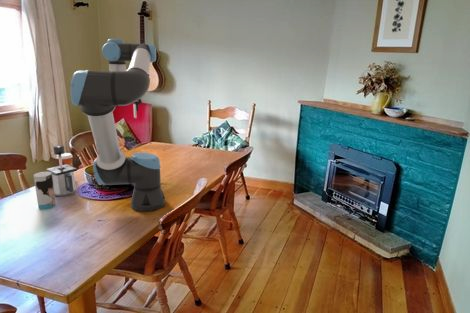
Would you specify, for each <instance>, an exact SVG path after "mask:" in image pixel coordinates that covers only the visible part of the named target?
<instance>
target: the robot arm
mask: <svg viewBox="0 0 470 313" xmlns="http://www.w3.org/2000/svg"><path fill="white" fill-rule="evenodd" d="M101 53H102V56H103V57H104V59H105V60H107V61H108V70H89V69H86V70H77V71H75V72H74V73H73V74H72V76H71V80H70V81H71V82H70V101H71V104H72V105H73V106H76V107H80V110H81V112H82V114H84V115H85V116H87V120H88V122H89V126H90V129H91V133H92V137H93V140H94V143H95V148H96V151H97V154H98V155H97V156H96V158H95V159H94V161H93V163H92V166H93V167H92V169H93V176H94V179H95V181H96V182H97V184H99V185H104V186H105V185H107V186H111V185H133V191H132V195H131V196H132V197H131V199H130V208H132V209H133V210H134V211H138V212H152V211H153V212H154V211H157V210H160V209H162V208H163V207H164V206H166V197H165V194H164V192H163V189H162V182H161V180H162V179H161V163H160V161H161V160H160V158H159V156H158V155H155V154H154V153H150V152H134V153H132V154H131V156H127V157H126V154H125V153H124V152H123V151H122V150H121V148H120V143H119V142H120V141H119V137H118V132H117V126H116V122H115V117H114V113H113V112H114V110H116V106H117V107H118V106H119V107H122V106H123V107H124V106H129V105H132V104H133V106H132V107H133V118H134V119H137V118H138V116H137V112H138V111H139V104H142V102H143V101H142V100H141V99H142V98H143V97H144V96H145V94H146V93H147V92H148V90H149V88H150V85H151V83H150V82H151V78H150V76H149V71H150V67H151V66H150V65H151V63H154V62H156V61H157V49H156V45H155V44H153V43H127V42H126V43H125V41H124V40H123V39H120V38H109V39H107V42H106V43H105V44H104V45H102V47H101ZM126 62H129V66H128V68H127V64H126Z"/></svg>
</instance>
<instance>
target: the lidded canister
mask: <svg viewBox="0 0 470 313" xmlns="http://www.w3.org/2000/svg"><path fill="white" fill-rule="evenodd" d="M76 171H78V169H77V168H76V167H74V166H73V167H72V166H70V165H67V164H66V165H63V169H62V170H60V166H58V165H57V166H53V167H49V168H46V169H45V172H51V173H52V178H53V185H54V193H55V198H62V197H63V198H65V197H70V196H73V195H74V194H76V193H77V188H76V182H75V172H76Z"/></svg>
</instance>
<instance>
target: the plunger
mask: <svg viewBox="0 0 470 313" xmlns="http://www.w3.org/2000/svg"><path fill="white" fill-rule="evenodd" d="M52 149H53V155H56V156H57V155H58V157H59V165H60V170H62V169H63V165H62V158H61V154H64V153H66V151H65V146H64V145H54V146H53V148H52Z"/></svg>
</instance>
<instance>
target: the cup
mask: <svg viewBox="0 0 470 313" xmlns="http://www.w3.org/2000/svg"><path fill="white" fill-rule="evenodd" d="M33 182H34V186H35V188H34V189H35V193H36V201H37V206H38V209H39V210H41V211H45V210H47V211H48V210H51V209H52V210H53V208H55V207H57V202H56V200H57V199H56V197H55V193H54V185H53V178H52V173H51V172H47V171H40V172H36V173H34V174H33Z"/></svg>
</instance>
